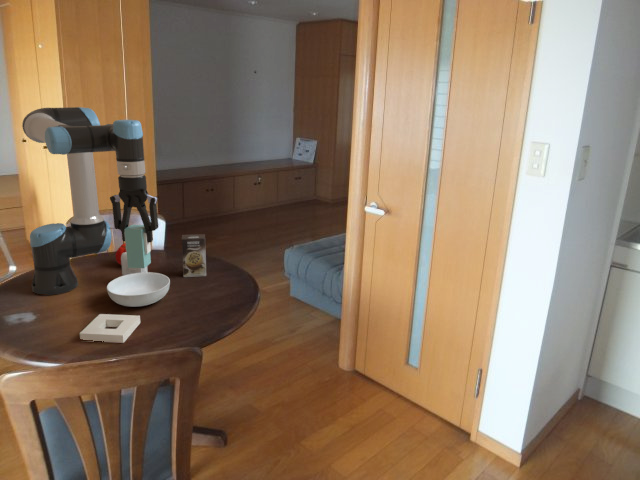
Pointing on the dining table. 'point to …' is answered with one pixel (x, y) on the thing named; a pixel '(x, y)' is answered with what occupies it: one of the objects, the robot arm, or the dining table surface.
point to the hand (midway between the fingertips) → (138, 251)
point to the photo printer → (129, 270)
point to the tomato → (120, 253)
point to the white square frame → (118, 335)
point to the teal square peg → (136, 247)
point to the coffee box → (194, 255)
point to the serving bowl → (138, 289)
